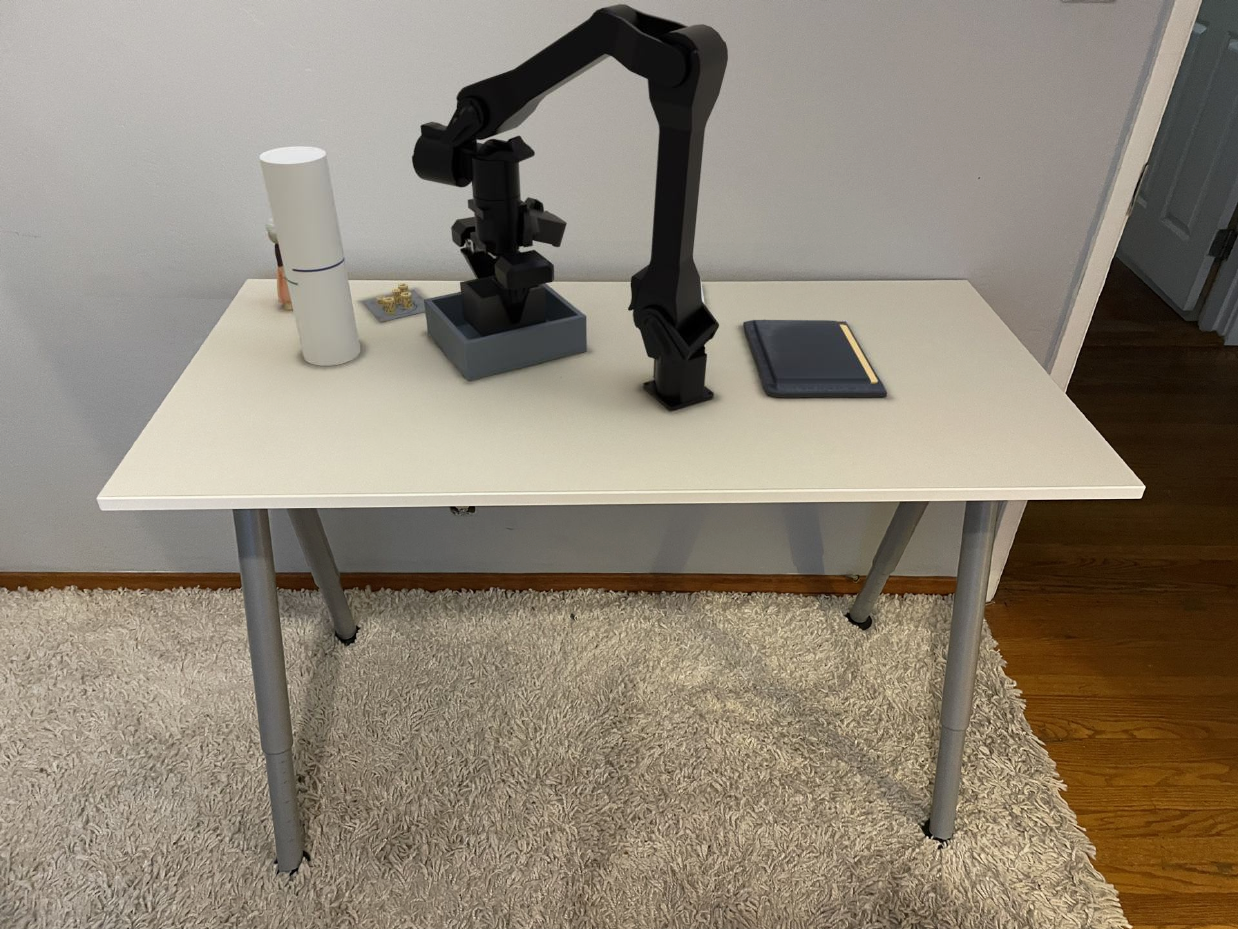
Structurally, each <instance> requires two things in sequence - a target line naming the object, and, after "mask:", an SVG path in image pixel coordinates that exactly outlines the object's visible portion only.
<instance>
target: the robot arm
mask: <svg viewBox="0 0 1238 929" xmlns="http://www.w3.org/2000/svg"><path fill="white" fill-rule="evenodd" d="M728 50H729V49H728V44H727V42H726V41H725V40H724V39H723V38H722V36H721V34H720V33H719V32H718V31H717V30H716V29H714V28H713V27H712V26H710V25H707V24H704V23H702V24H701V23H700V24H699V23H698V24H693V25H689V26H688V25H686V24H683V23H681V22H679V21H676V20H672V19H668V18H664V17H660V16H656V15H654V14H653V15H652V14H649V13H645V12H644V11H641V10H638V9H636V8H633V7H631V6H630V5H628V4H626V3H618V4H613V5H608V6H605V7H601V8H599V9H596V10H595V11H594V12H593V13H592V14H591V15H590V17H588V19H586V20H585V21H584V22H582V23H580V24H579V25H577V26H576V27H575V28H573V29H571V30H570V31H568V32H567V33H565V34H564V35H562V36H560V38H558V39H556V40H555V41H553V42H552V43H550V44H549V45H547V46H546V47H545V48H542V50H540V51H539V52H537V53H535V54H534V55H533V56H531V57H529V58H528V59H526V60H525V61H524V62H522V63H521V64H520V65H518V66H517V67H515V68H513V69H511V70H508V71H505V72H503V73H502V72H501V73H499V74H496V75H493V76H490V77H488V78H484V79H481V80H478V81H476V82H473V83H471V84H468V85H465V86H464V87H462V88H461V89H460V90H459V91H458V93H457V95H456V97H455V100H456V108H455V111H454V112H453V114H452V116H451V118H450V120H449V122H448V123H447V125H444V124H442V123H440V122H437V121H429V122H426V123H423V124H420V136H419V137H418V138H417V140H416V142H415V144H414V148H413V153H412V155H411V163H412V167H413V170H414V172H415V174H416V175H417V177H419V179H421V180H423V181H428V182H432V183H438V184H441V185H447V186H452V187H456V188H466V187H468V186H470V185H471V191H472V198H469V199H467V208H468V209H469V210H470V211H472V213H473V216H469V217H464V218H457V219H456V220H455V221H454V223H453V224H452V226H451V227H450V231H451V240H452V241H451V242H452V243H454V244H455V245H456V246H457V247H459V248H460V249H459V251H460V253H461V255H462V256H463V257H464V260H465V261H466V263H467V264H468V267H469V268H470V270H471V272H472V274H473V275H474V277H475V279H478V278H483V277H488V276H493V275H496V277H494V278H492V281H493V283H494V285H495V288H496V290H497V292H498V295H499V297H500V299H501V302H502V304H503V306H504V309H505V311H506V313H507V316H508V318H509V320H510V322H511V323H512V324H517V323H519V322H520V320H521V317H522V313H523V310H524V306H525V303H526V299H527V296H528V294H529V291H530V289H531V287H532V286H535V285H540V284H545V283H546V284H550V283H553V282H554V280H555V265H554V264H553V263H552V262H551V261H550V260H549V259H548V258H546V257H545V256H544V255H543V254H541V253H540V252H538V251H537V250H536V249H531V250H525V251H520V248H521V247H523V248H529V247H530V248H531V247H533V246H534V242H537V243H542V244H547V245H551V246H552V247H554V248H561V246H562V242H563V238H564V234H565V231H566V228H567V224H568V223H567V221H565V220H563V219H562V218H561V217H559V216H557V215H556V214H554V213H552V212H550V211H549V210H545V206H544V203H543V202H542V201H540V200H539V199H537V198H533V197H530V196H527V197H526V199H525V200H524V201H523V200H522V198H521V177H520V175H521V174H520V163H521V162H523V161H526V160H528V159H531V158H534V157H535V155H536V152H535V150H534V149H533V147H531V146H530V145H529V144H527V143H526V142H525V140H524V139H523V138H522V136H521V135H516V136H514V137H510V138H508V139H507V140H503V139H497V138H492V137H495V136H498V135H500V134H503V133H507V132H509V131H511V130H515V129H517V128H518V127H520V126H521V125H522V124H523V123H524V122H525V121H526V120H527V119H528V118H529V117H530V116H532V114H533V113H534V112H535V111H536V110H537V108H538V106H539V105H540V104H541V102H542V101H543V100H544V99H545V98H546V97H547V96H549V95H550V94H552V93H553V92H555V91H557V90H558V89H560V88H562V87H563V86H565V85H566V84H568V83H569V82H571V81H573V80H575V79H576V78H577V77H579V76H581V75H583V74H584V73H585V72H587V71H589V70H591V69H592V68H593V67H595V66H596V65H598V64H600V63H601V62H603V61H605V60H607V59H608V58H609V57H612V58H613V59H614V60H616V61H617V62H619V64H621V65H622V66H623V67H624V68H625V69H627V71H629V72H631V73H633V74H634V75H637V76H639V77H642V78H644V79H646V80H647V89H648V90H647V91H648V99H649V102H650V105H651V108H652V112H653V114H654V116H655V119H656V122H657V125H658V141H657V142H658V143H657V156H656V170H655V171H656V172H655V173H656V174H655V190H654V191H655V192H654V205H653V219H652V220H653V221H652V222H653V223H652V233H651V234H652V236H651V250H650V251H651V252H650V260H649V263H648V264H647V265H645V266H644V267H643V268H641V269H640V270H639V271H637V272H635V273H634V274H633V275H632V276H631V278H630V294H631V295H630V296H631V298H630V303H629V306H628V307H627V310H628V311H629V312H631V311H632V321H633V324H634V326H635V328H636V329H638V330H639V332H640V335H641V339H642V343H643V345H644V349H645V352H646V355H647V358H651V359H653V372H652V373H653V374H652V375H653V376H652V377H653V379H652V380H648V381H645V382H643V383H642V388H643V389H644V390H645V391H646V392H648V393H649V394H650V395H651V396H652V397H654V399H656V400H657V401H658V402H660V404H661V405H663V406H664V407H665V408H666V409H668V410H670V411H673V410H674V411H675V410H677V409H680V408H681V409H682V408H684V407H687V406H690V405H694V404H697V403H700V402H701V403H702V402H704V401H708V400H710V399H713V398H714V396H715V393H714V392H713V391H712V390H711V389H710V388H709V387H707V386H706V385H705V384H706V383H705V382H706V373H707V361H708V354H707V353H706V347H705V345H706V344H708V342H709V341H710V340H712V339H713V338H715V336H716V334H717V332H718V329H719V328H720V323H719V322H718V321H717V319H716V318H715V316H714V315H713V313H712V312H711V311H710V310H709V308H708V306H706V304H704V303H705V302H704V303H703V302H702V294H701V283H702V278H701V276H700V272H699V271H698V268H697V266H696V263H695V261H694V260H695V259H694V248H695V238H696V237H695V236H696V227H697V216H698V206H699V194H700V187H701V186H700V184H701V175H702V165H703V164H702V163H703V155H704V154H703V153H704V144H705V143H704V142H705V134H706V133H705V132H706V127H707V124H708V121H709V119H710V116H711V115H712V112H713V109H714V108H715V105H716V103H717V100H718V98H719V96H720V94H721V89H722V85H723V81H724V78H725V74H726V69H727V67H728V66H727V65H728V60H729V55H728V54H729V51H728ZM489 138H490V139H489ZM483 140H485V141H484V142H478V141H483ZM700 278H701V279H700Z"/></svg>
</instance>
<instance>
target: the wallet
mask: <svg viewBox="0 0 1238 929" xmlns="http://www.w3.org/2000/svg"><path fill="white" fill-rule="evenodd" d="M742 328H743V331H744V334H745V337H746V340H747V343H748V345H749V348H750V351H751V353H752V356H753V359H754V362H755V364H756V368H757V372H758V374H759V378H760V382H761V385H762V388H763V390H764V392H765V394H766V395H768V396H771V397H775V398H887V396H888V392H887V390H886V389H887V388H886V387H885V385H884V383H883V382H882V379H880V377H879V376H878V374H877V373H876V371H875V369H874V367H873V365H872V364H871V362H870V361H869V358H868V357H867V355H866V353H865V351H864V350H863V348H862V347H861V345H860V343H859V342H858V340H857V337H856V336H855V334H854V333H853V331H852V329H851V328H850V326H849V323H847V321H846V320H845V321H843V320H842V321H841V320H839V321H837V320H831V319H830V320H827V319H826V320H825V319H824V320H823V319H822V320H821V319H819V320H818V319H751V320H746V321H743V324H742Z"/></svg>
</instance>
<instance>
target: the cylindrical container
mask: <svg viewBox="0 0 1238 929" xmlns="http://www.w3.org/2000/svg"><path fill="white" fill-rule="evenodd" d="M258 157H259V158H258V160H259V162H260V167H261V172H262V176H263V181H264V185H265V189H266V194H267V198H268V203H269V208H270V212H271V218H272V217H273V221H274V226H275V230H276V235H277V239H278V244H279V248H280V253H281V257H282V262H283V266H284V271H285V275H286V280H287V284H288V289H289V293H290V298H291V302H292V307H293V310H292V311H293V315H294V320H295V325H296V329H297V334H298V338H299V343H300V347H301V352H302V356H303V359H304V361H305V362H307V363H309V364H310V365H314V366H318V367H319V366H320V367H330V366H331V367H332V366H338V365H343V364H345V363H349V362H351V361H353V360H355V359H356V358H357V357H358V356H360V354H361V351H362V350H361V344H360V343H361V342H360V339H359V338H360V337H359V332H358V327H357V321H356V315H355V310H354V303H353V299H352V292H351V286H350V281H349V276H348V270H347V265H346V258H345V253H344V247H343V242H342V235H341V231H340V225H339V224H340V223H339V219H338V214H337V209H336V203H335V196H334V191H333V185H332V181H331V179H332V178H331V174H330V168H329V162H328V157H327V152H326V151H325V150H324V149H322V148H320V147H315V146H306V145H295V146H294V145H293V146H284V147H283V146H282V147H277V148H272V149H269V150H265V151H264V152H262V153H261V154H259V156H258Z"/></svg>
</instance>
